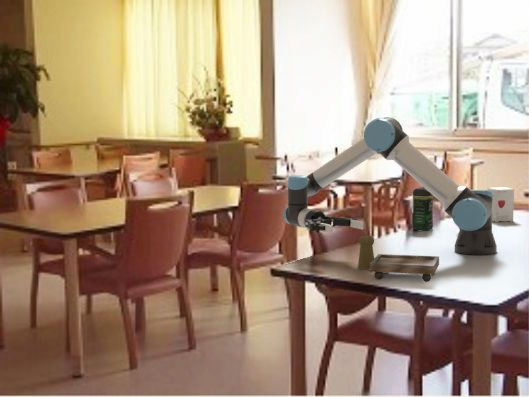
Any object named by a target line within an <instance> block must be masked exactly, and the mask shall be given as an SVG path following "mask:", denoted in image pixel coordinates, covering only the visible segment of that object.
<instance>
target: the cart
mask: <svg viewBox="0 0 529 397" xmlns="http://www.w3.org/2000/svg"><path fill="white" fill-rule="evenodd" d="M439 266H440V256H436V255H435V256H434V255H413V254H412V255H410V254H391V253H390V254H387V253H385V254H383V253H378V254H377V255H376V256H374V259H373V260H372V261H371V263H370V269H369V272H371V273H374V274H373V275H374V278H375V280H379V281H381V280H383V279H384V277H385V274H384V273H386V274H387V273H389V274H390V273H392V274H411V275H421V280H422V281H423V282H424V283H429V282H431V280H432V276H433V275H435V273H436V271H437V270H438V268H439Z"/></svg>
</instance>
